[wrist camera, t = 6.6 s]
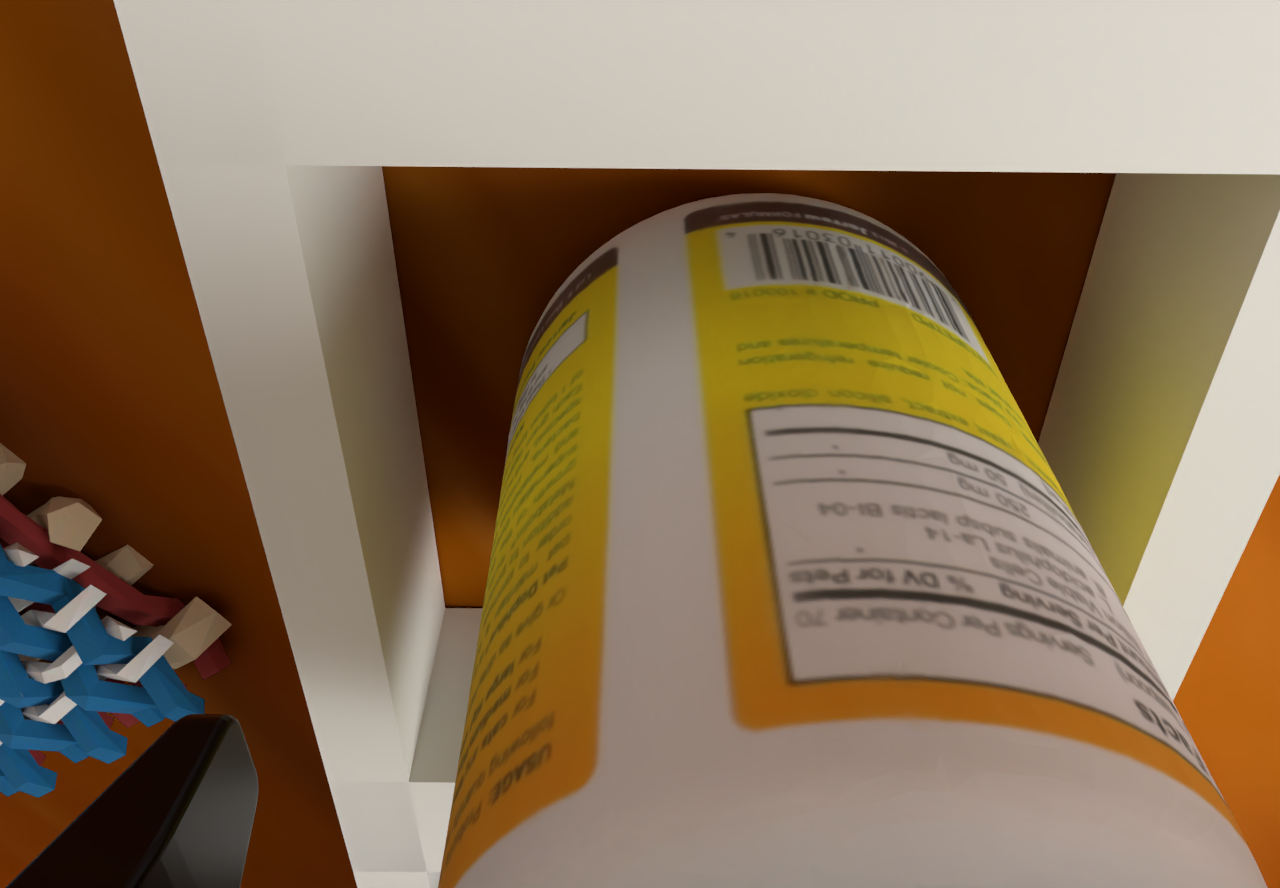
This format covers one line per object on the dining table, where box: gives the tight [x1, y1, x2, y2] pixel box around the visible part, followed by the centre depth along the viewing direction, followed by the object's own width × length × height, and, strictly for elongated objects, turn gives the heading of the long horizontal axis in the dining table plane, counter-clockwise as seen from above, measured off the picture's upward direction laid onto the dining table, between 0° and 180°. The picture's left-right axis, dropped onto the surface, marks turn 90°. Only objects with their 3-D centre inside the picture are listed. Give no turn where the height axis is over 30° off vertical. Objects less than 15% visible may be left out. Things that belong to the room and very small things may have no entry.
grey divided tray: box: [113, 0, 1280, 888], centre depth 15 cm, size 22×10×3 cm, turn 0°
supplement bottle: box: [438, 193, 1267, 888], centre depth 9 cm, size 6×6×10 cm
